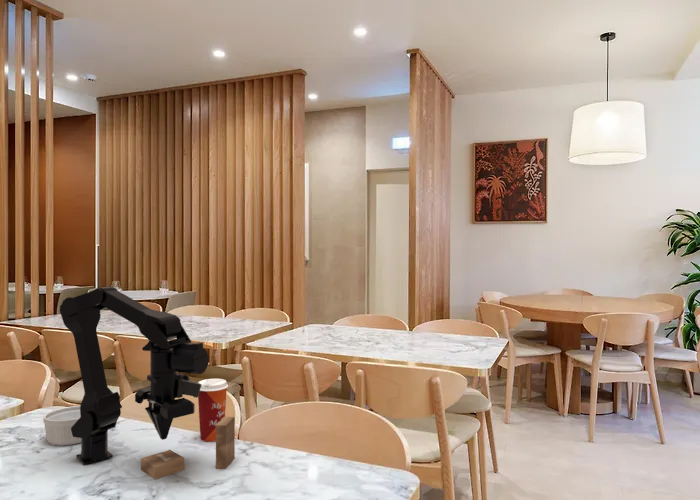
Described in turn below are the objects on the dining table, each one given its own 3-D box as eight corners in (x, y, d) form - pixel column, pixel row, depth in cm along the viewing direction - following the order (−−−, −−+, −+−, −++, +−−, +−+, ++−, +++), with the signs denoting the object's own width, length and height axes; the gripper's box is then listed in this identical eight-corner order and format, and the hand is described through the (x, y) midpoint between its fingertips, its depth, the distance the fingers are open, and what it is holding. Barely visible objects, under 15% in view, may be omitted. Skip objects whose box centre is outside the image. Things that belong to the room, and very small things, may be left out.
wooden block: (215, 468, 114) (215, 425, 114) (224, 457, 120) (224, 416, 120) (225, 469, 114) (226, 425, 114) (234, 458, 120) (234, 416, 120)
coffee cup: (219, 444, 128) (219, 386, 128) (190, 442, 130) (190, 384, 130) (233, 433, 136) (233, 378, 137) (205, 430, 138) (205, 377, 138)
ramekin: (35, 439, 132) (36, 413, 132) (88, 426, 142) (88, 401, 142) (53, 452, 123) (53, 424, 124) (108, 437, 133) (108, 411, 133)
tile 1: (140, 471, 113) (140, 457, 113) (170, 462, 118) (170, 448, 118) (154, 481, 108) (154, 466, 108) (184, 471, 114) (184, 457, 114)
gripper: (216, 371, 112) (216, 440, 112) (178, 359, 126) (178, 420, 126) (168, 380, 105) (168, 454, 105) (134, 366, 118) (134, 431, 118)
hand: (163, 438), depth 113 cm, fingers closed
